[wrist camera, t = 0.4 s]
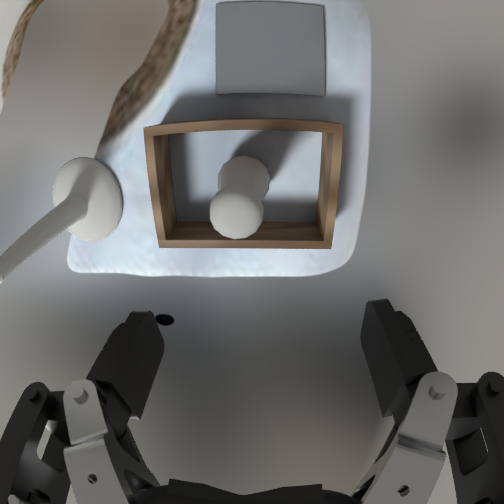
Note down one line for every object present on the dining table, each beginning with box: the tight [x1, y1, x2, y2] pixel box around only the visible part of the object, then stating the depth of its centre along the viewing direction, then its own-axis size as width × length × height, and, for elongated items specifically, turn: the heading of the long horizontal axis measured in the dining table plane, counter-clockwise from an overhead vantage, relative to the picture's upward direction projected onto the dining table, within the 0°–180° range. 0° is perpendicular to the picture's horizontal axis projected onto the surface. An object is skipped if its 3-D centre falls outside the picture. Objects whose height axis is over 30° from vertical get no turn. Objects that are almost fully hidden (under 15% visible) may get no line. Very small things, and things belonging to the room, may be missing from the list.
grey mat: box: [216, 2, 325, 96], centre depth 23 cm, size 12×12×1 cm
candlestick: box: [0, 157, 123, 283], centre depth 20 cm, size 13×13×30 cm
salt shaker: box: [210, 156, 270, 239], centre depth 26 cm, size 6×6×13 cm
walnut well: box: [144, 118, 343, 249], centre depth 29 cm, size 14×20×5 cm
